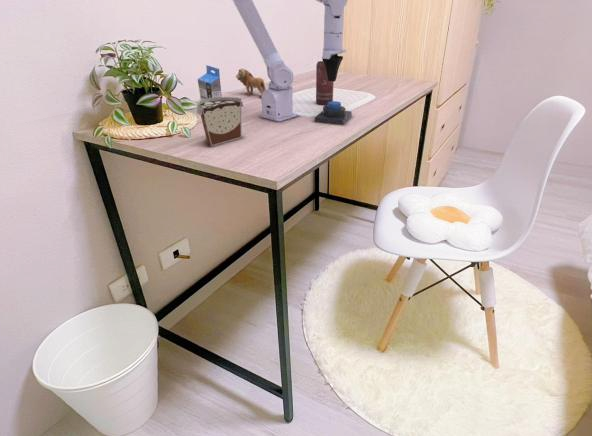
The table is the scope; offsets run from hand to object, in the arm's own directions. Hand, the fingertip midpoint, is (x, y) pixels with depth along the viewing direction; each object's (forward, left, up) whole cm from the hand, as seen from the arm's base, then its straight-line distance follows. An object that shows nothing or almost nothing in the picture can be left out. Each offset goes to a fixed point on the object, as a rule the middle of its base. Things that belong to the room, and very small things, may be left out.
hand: (331, 80), depth 116 cm
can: (+10, +10, -11) cm, 17 cm away
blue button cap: (-4, -4, -7) cm, 9 cm away
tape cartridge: (-20, +35, -11) cm, 42 cm away
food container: (-40, +7, -11) cm, 42 cm away
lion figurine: (+1, +37, -11) cm, 38 cm away
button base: (-4, -4, -10) cm, 12 cm away
